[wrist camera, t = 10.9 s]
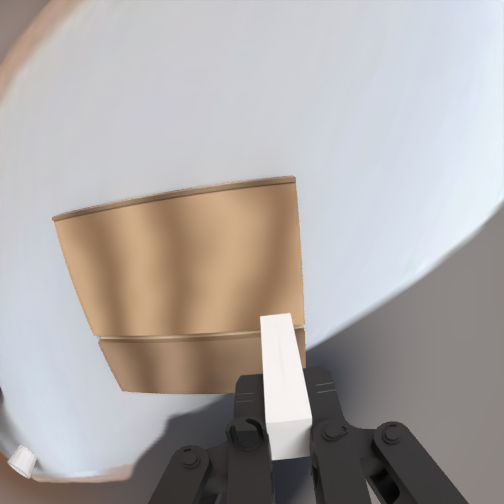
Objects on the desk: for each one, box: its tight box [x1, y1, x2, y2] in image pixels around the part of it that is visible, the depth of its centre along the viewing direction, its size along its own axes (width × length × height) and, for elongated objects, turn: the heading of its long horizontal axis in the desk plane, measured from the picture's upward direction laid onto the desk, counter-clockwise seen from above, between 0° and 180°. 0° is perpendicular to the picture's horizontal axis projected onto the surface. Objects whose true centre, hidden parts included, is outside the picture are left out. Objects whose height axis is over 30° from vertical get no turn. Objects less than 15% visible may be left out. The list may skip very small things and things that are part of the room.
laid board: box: [98, 324, 306, 394], centre depth 27 cm, size 20×7×1 cm, turn 97°
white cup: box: [7, 445, 37, 479], centre depth 40 cm, size 7×7×7 cm
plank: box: [52, 176, 305, 336], centre depth 23 cm, size 20×12×1 cm, turn 97°
